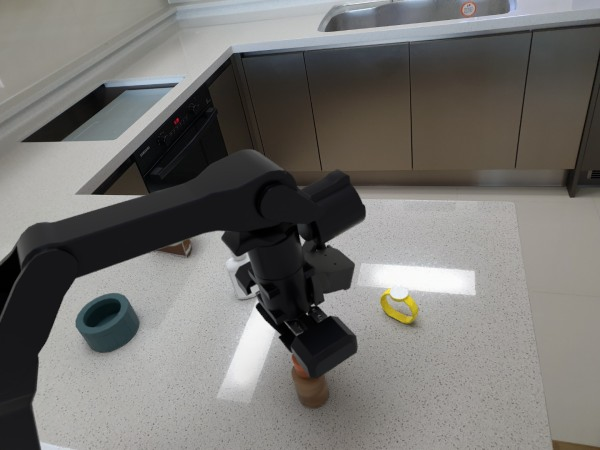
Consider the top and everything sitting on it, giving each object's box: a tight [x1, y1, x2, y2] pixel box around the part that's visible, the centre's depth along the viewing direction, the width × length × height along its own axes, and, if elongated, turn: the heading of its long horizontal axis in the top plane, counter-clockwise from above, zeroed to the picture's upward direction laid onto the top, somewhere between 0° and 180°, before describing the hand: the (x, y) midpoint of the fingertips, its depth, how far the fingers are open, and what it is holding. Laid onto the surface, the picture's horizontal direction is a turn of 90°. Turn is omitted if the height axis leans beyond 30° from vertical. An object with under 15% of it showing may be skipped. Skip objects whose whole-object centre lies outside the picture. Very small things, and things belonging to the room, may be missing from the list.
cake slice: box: [153, 238, 193, 259], centre depth 95 cm, size 12×6×10 cm, turn 66°
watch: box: [379, 285, 419, 325], centre depth 71 cm, size 6×3×6 cm, turn 50°
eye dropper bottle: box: [225, 249, 259, 300], centre depth 80 cm, size 4×6×12 cm
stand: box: [291, 365, 330, 409], centre depth 63 cm, size 4×4×6 cm
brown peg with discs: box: [291, 353, 309, 377], centre depth 59 cm, size 3×3×8 cm
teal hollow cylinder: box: [75, 292, 140, 353], centre depth 80 cm, size 9×9×5 cm
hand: (302, 350), depth 59 cm, fingers closed on brown peg with discs, 2 cm apart
